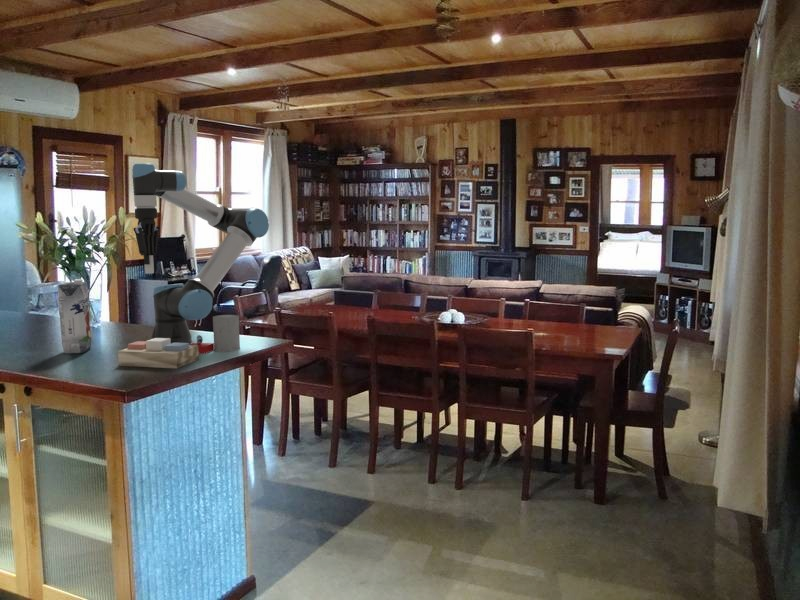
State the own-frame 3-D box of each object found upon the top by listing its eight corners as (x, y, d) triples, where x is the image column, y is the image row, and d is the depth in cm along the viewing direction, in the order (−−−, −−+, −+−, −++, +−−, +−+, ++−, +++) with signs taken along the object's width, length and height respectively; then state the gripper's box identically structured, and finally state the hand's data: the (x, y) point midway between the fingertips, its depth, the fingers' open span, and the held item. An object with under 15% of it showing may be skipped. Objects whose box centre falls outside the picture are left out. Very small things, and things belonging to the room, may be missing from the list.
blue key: (174, 351, 244) (174, 342, 244) (189, 351, 243) (189, 343, 242) (165, 354, 238) (164, 345, 238) (180, 355, 237) (180, 346, 237)
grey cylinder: (225, 345, 271) (224, 314, 270) (245, 347, 267) (244, 315, 265) (208, 350, 263) (207, 317, 261) (228, 352, 258) (227, 319, 257)
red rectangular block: (214, 350, 264) (213, 333, 263) (205, 354, 257) (204, 337, 256) (194, 349, 265) (193, 333, 264) (185, 353, 259) (184, 336, 258)
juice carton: (60, 354, 258) (55, 281, 255) (69, 349, 268) (64, 278, 265) (86, 353, 260) (81, 280, 256) (93, 347, 270) (89, 277, 266)
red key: (138, 349, 247) (137, 341, 247) (152, 350, 246) (152, 341, 245) (128, 352, 242) (127, 344, 241) (143, 353, 240) (142, 344, 240)
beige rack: (143, 357, 252) (142, 343, 251) (198, 359, 247) (198, 345, 246) (118, 365, 238) (117, 351, 238) (177, 368, 233) (176, 353, 233)
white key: (156, 346, 245) (155, 337, 245) (170, 346, 244) (170, 338, 244) (146, 349, 240) (145, 340, 239) (161, 350, 238) (161, 341, 238)
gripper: (147, 207, 259) (150, 271, 262) (125, 207, 246) (129, 275, 249) (165, 207, 257) (168, 271, 260) (144, 207, 245) (148, 275, 248)
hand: (149, 273), depth 255 cm, fingers closed
